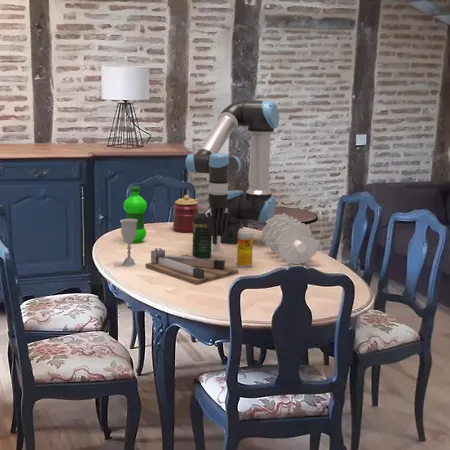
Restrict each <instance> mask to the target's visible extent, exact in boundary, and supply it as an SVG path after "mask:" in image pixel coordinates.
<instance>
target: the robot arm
mask: <svg viewBox="0 0 450 450" xmlns="http://www.w3.org/2000/svg"><path fill="white" fill-rule="evenodd" d="M279 122H280V112H279V109H278V106H277V104H276V103H275V102H274V101H271V100H266V99H265V100H264V99H263V100H258V99H257V100H256V99H255V100H254V99H240V100H236V101H234V102H232V103H231V104H229V105H227V106H226V107H225V108H224V109H223V110H222V111H221V112H220V113H219V115H218V116H217V122H216V124H215V125H214V126H213V128H212V129H211V131H210V132H209V134H208V136H207V137H206V139H204V142H203V143H202V145H201V146H200V147H199V149H198V150H197V152H196V153H189V154H188V155H187V156H186V158H185V169H186V170H187V171H188V172H191V173H195V174H208V203H209V207H208V210H207V211H204V212H203V213H204V215H205V217H206V222H207V229H208V234H209V235H212V242H211V245H212V252H215V253H221V244H227V245H228V244H229V245H232V244H238V231H239V229H242V228H244V224H243V220H244V221H251V222H252V221H253V222H258V223H266V221H268V220H270V219H272V218H274V215H275V211H276V208H277V207H276V205H277V200H276V198H275V197H274V196H273V195H272V194H273V193H272V190H270V188H269V184H270V183H269V182H270V180H269V179H270V161H271V160H270V157H271V156H270V155H271V136H272V135H273V134H274V133H275V129H277V128H278V127H279ZM239 127H247V132H248V134H249V135H250V157H249V159H250V160H249V161H250V163H249V165H250V166H249V188H248V189H247V190H246V191H245V192H244V190H242V189H241V190H238V189H234V190H229V176H234V175H236V174H238V173H239V172H240V171H241V168H242V162H241V160H240V158H239V157H238V156H235V155H229V154H227V153H219V152H220V151H221V149H222V148H223V146H224V145H225V143H226V141H227V140H228V138H229V137H230V135H231V133H232V132H233V131H234V132H235V131H236V130H237V129H238V128H239Z"/></svg>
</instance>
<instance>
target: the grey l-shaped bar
mask: <svg viewBox="0 0 450 450" xmlns="http://www.w3.org/2000/svg"><path fill="white" fill-rule="evenodd" d="M165 256H166V250H165V249H162V248H160V247H156V248H155V249H154V250H151V251H150V263H152V264H155V265H156V264H159V266H162V267H165V268H168V269H171V270H174V271H177V272H181V273H184V274H187V275H190V276H193V277H196V278H199V279H202V278H204V270H202V269H199V268H196V267H192V266H189V265H186V264H183V263H180V262H176V261H173V260H170V259H167V258H165Z"/></svg>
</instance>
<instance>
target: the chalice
mask: <svg viewBox="0 0 450 450" xmlns="http://www.w3.org/2000/svg"><path fill="white" fill-rule="evenodd" d="M119 221H120V225H121V226H120V227H121V228H120V229H121V230H120V231H121V236H122V238H123V240H124V242H125V244H127V247H126V249H127V252H126V253H127V257H125V258H124V261H123V263H122V265H123V266H125V267H132V266H133V267H134V266H135V265H136V262H135V259H134V258H132V256H131V255H132V251H131V249H132V247H131V244H132V242H133V240H134V238H135V235H136V223H137V221H138V220H136V219H126V218H124V219H120V220H119Z"/></svg>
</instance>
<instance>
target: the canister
mask: <svg viewBox="0 0 450 450" xmlns="http://www.w3.org/2000/svg"><path fill="white" fill-rule="evenodd" d="M174 203H175V204H174V205H173V206H172V208H173V213H172V215H173V216H172V217H173V219H172V220H173V221H172V222H173V224H172V230H173V231H174V232H176V233H181V234H182V233H183V234H184V233H185V234H188V233H189V234H190V233H191V234H193V216H194V215H196V214H197V213H200V212H199V209H200V206H199V204H198V203H199V201H198V200H196V199H194V198H190V196H189V195H188V194H184V195H183V198H178V199H177V200H175V201H174Z"/></svg>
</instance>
